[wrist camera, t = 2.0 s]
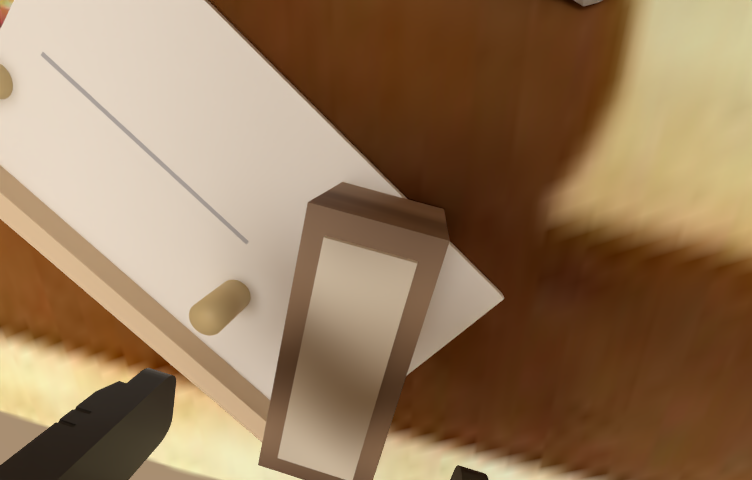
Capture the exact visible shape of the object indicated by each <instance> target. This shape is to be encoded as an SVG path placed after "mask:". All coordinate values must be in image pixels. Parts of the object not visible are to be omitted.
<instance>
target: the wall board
mask: <svg viewBox="0 0 752 480" xmlns="http://www.w3.org/2000/svg"><path fill="white" fill-rule="evenodd" d="M341 182H345V183H349V184H352V185H356V186H360V187H364V188H367V189H371V190H375V191H379V192H382V193H386V194H390V195H393V196H397V197H401V198H405V199H407V198H406V197H405V196H404V195H403V194H402V193H401V192H400V191H399V190H398V189H397V188H396V187H395V186H394V185H393V184H392V183H391V182H390V181H389V180H388V179H387V178H386V177H385V176H384V175H383V174H382V173H381V172H380V171H379V170H378V169H377V168H376V167H375V166H374V165H373V164H372V163H371V162H370V161H369V160H368V159H367V158H366V157H365V156H364V155H363V154H362V153H361V152H360V151H359V150H358V149H357V148H356V147H355V146H354V145H353V144H352V143H351V142H350V141H349V140H348V139H347V138H346V137H345V136H344V135H343V134H342V133H341V132H340V131H339V130H338V129H337V128H336V127H335V126H334V125H333V124H332V123H331V122H330V121H329V120H328V119H327V118H326V117H325V116H324V115H323V114H322V113H321V112H320V111H319V110H318V109H317V108H316V107H315V106H314V105H313V104H312V103H311V102H310V101H309V100H308V99H307V98H306V97H305V96H304V95H303V94H302V93H301V92H300V91H299V90H298V89H297V88H296V87H295V86H294V85H293V84H291V83H290V82H289V81H288V80H287V79H286V78H285V77H284V76H283V75H282V74H281V73H280V72H279V71H278V70H277V69H276V68H275V67H274V66H273V65H272V64H271V63H270V62H269V61H268V60H267V59H266V58H265V57H264V56H263V55H262V54H261V53H260V52H259V51H258V50H257V49H256V48H255V47H254V46H253V45H252V44H251V43H250V42H249V41H248V40H247V39H246V38H245V37H244V36H243V35H242V34H241V33H240V32H239V31H238V30H237V29H236V28H235V27H234V26H233V25H232V24H231V23H230V22H229V21H228V20H227V19H226V18H225V17H224V16H223V15H222V14H221V13H220V12H219V11H218V10H217V9H216V8H215V7H214V6H213V5H212V4H211V3H210V2H209V1H208V0H14V1H13V3H12V5H11V7H10V10H9V12H8V14H7V16H6V18H5V20H4V23H3V25H2V27H1V29H0V219H1V220H2V221H4V222H5V223H6V224H7V225H8V226H10V227H11V228H12V229H13V230H14V231H15V232H17V233H18V234H19V235H20V236H21V237H22V238H24V239H25V240H26V241H27V242H28V243H29V244H31V245H32V246H33V247H34V248H35V249H36V250H38V251H39V252H40V253H41V254H42V255H43V256H45V257H46V258H47V259H48V260H49V261H50V262H52V263H53V264H54V265H55V266H56V267H58V268H59V269H60V270H61V271H62V272H63V273H65V274H66V275H67V276H68V277H69V278H70V279H72V280H73V281H74V282H75V283H76V284H77V285H79V286H80V287H81V288H82V289H83V290H84V291H86V292H87V293H88V294H89V295H90V296H91V297H93V298H94V299H95V300H96V301H97V302H98V303H100V304H101V305H102V306H103V307H104V308H105V309H107V310H108V311H109V312H110V313H111V314H113V315H114V316H115V317H116V318H117V319H118V320H120V321H121V322H122V323H123V324H124V325H125V326H127V327H128V328H129V329H130V330H131V331H132V332H134V333H135V334H136V335H137V336H138V337H139V338H141V339H142V340H143V341H144V342H145V343H146V344H148V345H149V346H150V347H151V348H152V349H153V350H155V351H156V352H157V353H158V354H159V355H161V356H162V357H163V358H164V359H165V360H166V361H168V362H169V363H170V364H171V365H172V366H173V367H175V368H176V369H177V370H178V371H179V372H180V373H182V374H183V375H184V376H185V377H186V378H187V379H189V380H190V381H191V382H192V383H193V384H194V385H196V386H197V387H198V388H199V389H200V390H201V391H203V392H204V393H205V394H206V395H207V396H208V397H210V398H211V399H212V400H213V401H214V402H216V403H217V404H218V405H219V406H220V407H221V408H223V409H224V410H225V411H226V412H227V413H228V414H230V415H231V416H232V417H233V418H234V419H235V420H237V421H238V422H239V423H240V424H241V425H242V426H244V427H245V428H246V429H247V430H248V431H249V432H251V433H252V434H253V435H254V436H255V437H256V438H258V439H259V440H260V441H261V442H263V437H264V431H265V426H266V421H267V416H268V410H269V405H270V400H271V394H272V389H273V384H274V378H275V373H276V368H277V363H278V357H279V352H280V347H281V341H282V336H283V331H284V325H285V320H286V315H287V310H288V304H289V299H290V294H291V288H292V283H293V278H294V273H295V267H296V262H297V257H298V251H299V246H300V241H301V235H302V230H303V225H304V220H305V214H306V209H307V204H308V202H309V201H311V200H312V199H314V198H316V197H317V196H319V195H321V194H323V193H324V192H326V191H328V190H329V189H331V188H333V187H334V186H336V185H338V184H340V183H341ZM503 299H504V296H503V294H502V292H501V291H500V290H499V289H498V288H497V287H495V286H494V285H493V284H492V283H491V282H490V281H489V280H488V279H487V278H486V277H485V276H484V275H483V274H482V273H481V272H480V271H479V270H478V269H477V268H476V267H475V266H474V265H473V264H472V263H471V262H470V261H469V260H468V259H467V258H466V257H465V256H464V255H463V254H462V253H461V252H460V251H459V250H458V249H457V248H456V247H455V246H454V245H453V244H452V243H451V242H449V245H448V248H447V251H446V254H445V258H444V261H443V264H442V267H441V270H440V273H439V276H438V279H437V282H436V286H435V289H434V292H433V295H432V298H431V301H430V304H429V307H428V310H427V313H426V317H425V320H424V323H423V326H422V329H421V332H420V335H419V338H418V341H417V344H416V348H415V351H414V354H413V357H412V360H411V363H410V366H409V369H408V372H407V375H408V374H409V373H410V372H412V371H413V370H414V369H416V368H417V367H418V366H419V365H421V364H422V363H423V362H424V361H426V360H427V359H428V358H430V357H431V356H432V355H433V354H435V353H436V352H437V351H438V350H440V349H441V348H442V347H444V346H445V345H446V344H447V343H449V342H450V341H451V340H452V339H454V338H455V337H456V336H458V335H459V334H460V333H461V332H463V331H464V330H465V329H466V328H468V327H469V326H470V325H472V324H473V323H474V322H475V321H477V320H478V319H479V318H480V317H482V316H483V315H484V314H486V313H487V312H488V311H489V310H491V309H492V308H493V307H494V306H496V305H497V304H498V303H499V302H501V301H502V300H503ZM407 375H406V376H407Z"/></svg>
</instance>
